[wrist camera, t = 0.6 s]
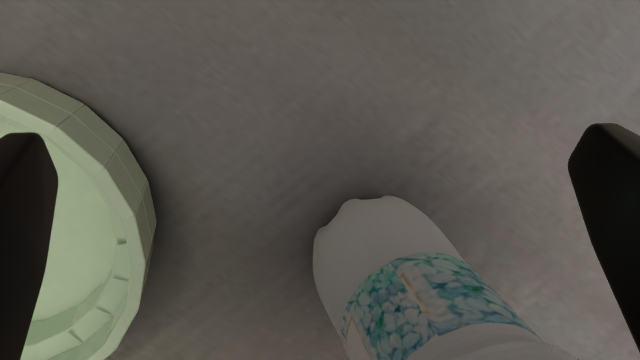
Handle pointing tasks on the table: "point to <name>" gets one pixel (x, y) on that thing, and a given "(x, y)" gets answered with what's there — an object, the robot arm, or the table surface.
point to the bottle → (412, 291)
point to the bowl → (84, 225)
